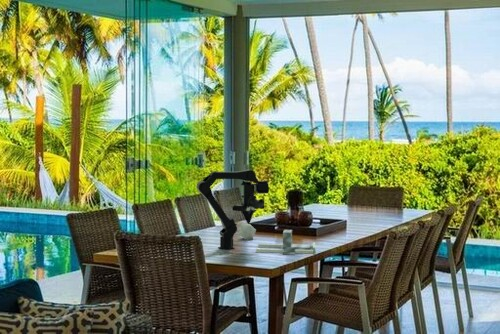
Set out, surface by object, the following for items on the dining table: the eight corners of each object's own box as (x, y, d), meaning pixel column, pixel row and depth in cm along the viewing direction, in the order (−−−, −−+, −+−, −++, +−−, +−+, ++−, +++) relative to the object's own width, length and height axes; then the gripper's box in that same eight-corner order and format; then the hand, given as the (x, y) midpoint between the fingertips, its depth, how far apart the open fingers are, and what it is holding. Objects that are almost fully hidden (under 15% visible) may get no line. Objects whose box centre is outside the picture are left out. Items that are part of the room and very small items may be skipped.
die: (250, 238, 499) (240, 224, 499) (261, 232, 494) (250, 217, 493) (244, 245, 492) (233, 231, 492) (254, 239, 487) (244, 224, 486)
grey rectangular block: (282, 251, 450) (283, 232, 449) (284, 248, 460) (284, 229, 459) (309, 252, 448) (310, 233, 448) (310, 249, 458) (311, 230, 458)
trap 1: (282, 254, 439) (282, 254, 439) (283, 252, 445) (283, 252, 445) (294, 254, 438) (294, 254, 438) (295, 253, 444) (295, 252, 444)
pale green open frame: (255, 252, 446) (256, 246, 446) (258, 246, 464) (258, 241, 464) (315, 253, 444) (315, 247, 444) (315, 248, 462) (315, 242, 462)
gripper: (247, 195, 445) (247, 226, 446) (272, 193, 459) (271, 223, 460) (231, 194, 453) (231, 224, 454) (256, 192, 466) (256, 221, 467)
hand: (248, 223), depth 458 cm, fingers closed
